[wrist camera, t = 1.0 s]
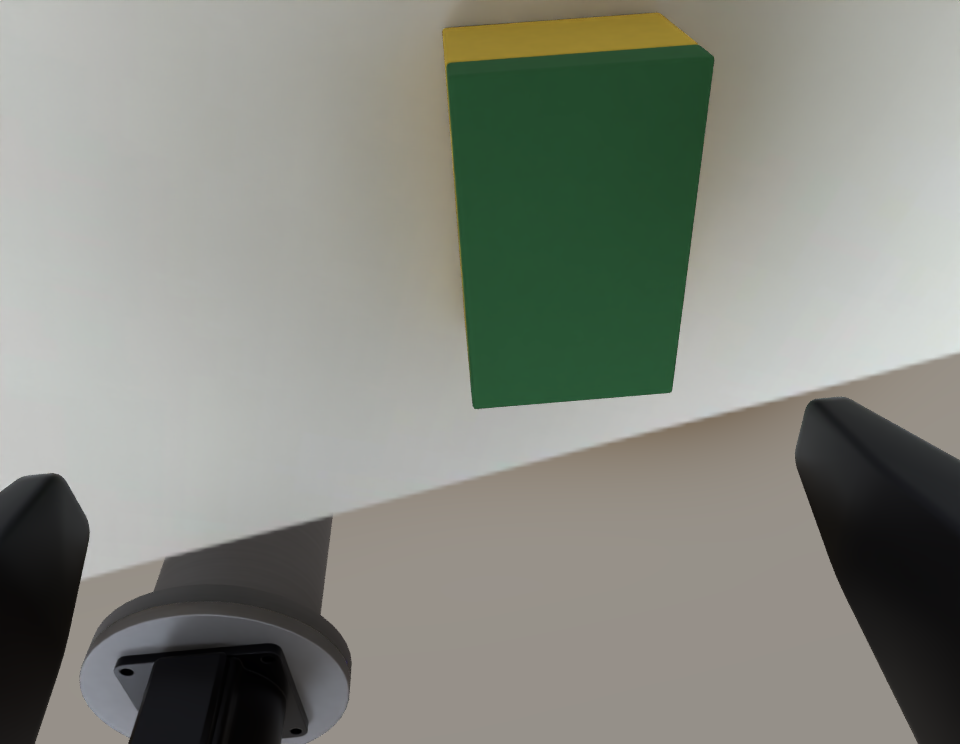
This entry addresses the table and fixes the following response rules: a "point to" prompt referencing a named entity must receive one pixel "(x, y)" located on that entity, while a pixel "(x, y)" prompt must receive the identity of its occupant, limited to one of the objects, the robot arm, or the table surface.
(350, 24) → the table surface
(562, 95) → the sponge
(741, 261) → the table surface
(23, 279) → the table surface
